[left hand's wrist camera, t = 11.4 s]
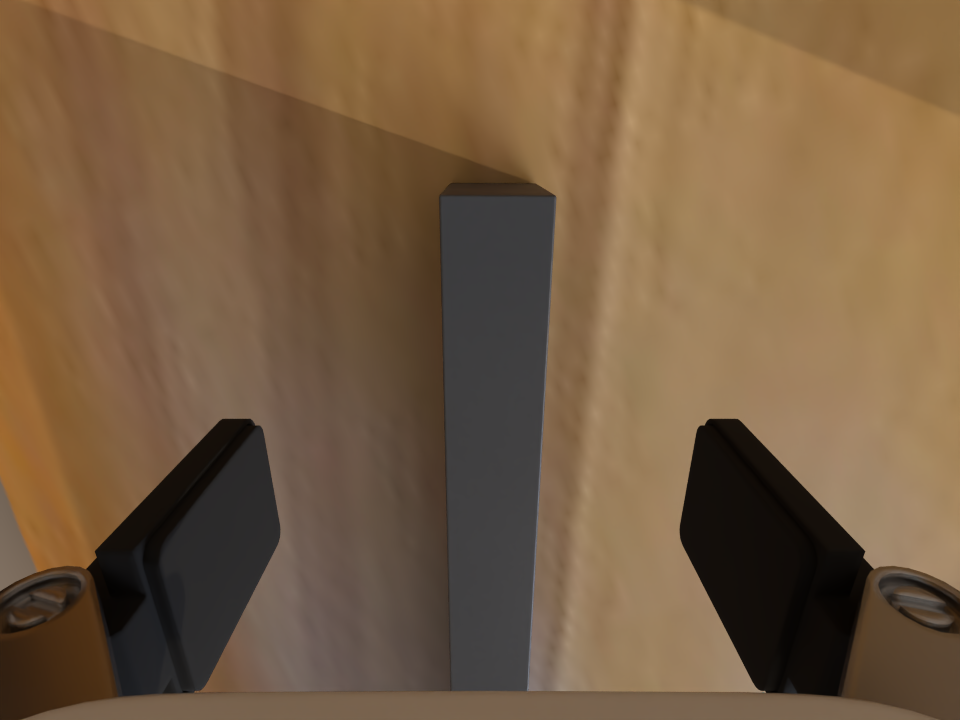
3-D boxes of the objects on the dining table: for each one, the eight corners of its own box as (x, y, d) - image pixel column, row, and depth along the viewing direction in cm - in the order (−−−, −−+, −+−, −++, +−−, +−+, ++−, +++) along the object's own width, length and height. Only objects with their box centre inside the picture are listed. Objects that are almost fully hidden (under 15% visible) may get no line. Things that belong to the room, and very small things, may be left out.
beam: (449, 182, 28) (439, 194, 21) (536, 183, 28) (556, 195, 21) (461, 913, 55) (458, 1028, 48) (505, 913, 55) (509, 1028, 48)
